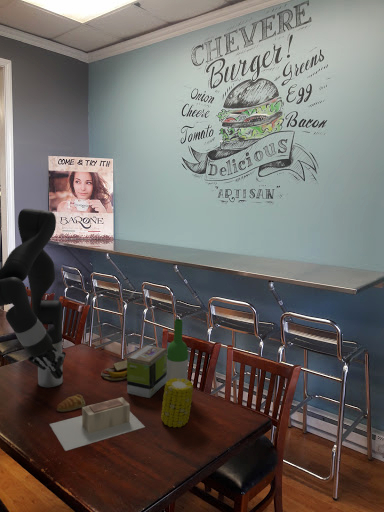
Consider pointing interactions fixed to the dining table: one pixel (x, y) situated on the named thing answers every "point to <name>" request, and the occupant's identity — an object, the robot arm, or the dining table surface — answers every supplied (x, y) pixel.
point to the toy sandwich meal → (116, 371)
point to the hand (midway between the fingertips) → (59, 376)
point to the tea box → (146, 371)
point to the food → (177, 402)
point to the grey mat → (77, 436)
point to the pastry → (71, 403)
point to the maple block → (105, 414)
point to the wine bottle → (177, 355)
